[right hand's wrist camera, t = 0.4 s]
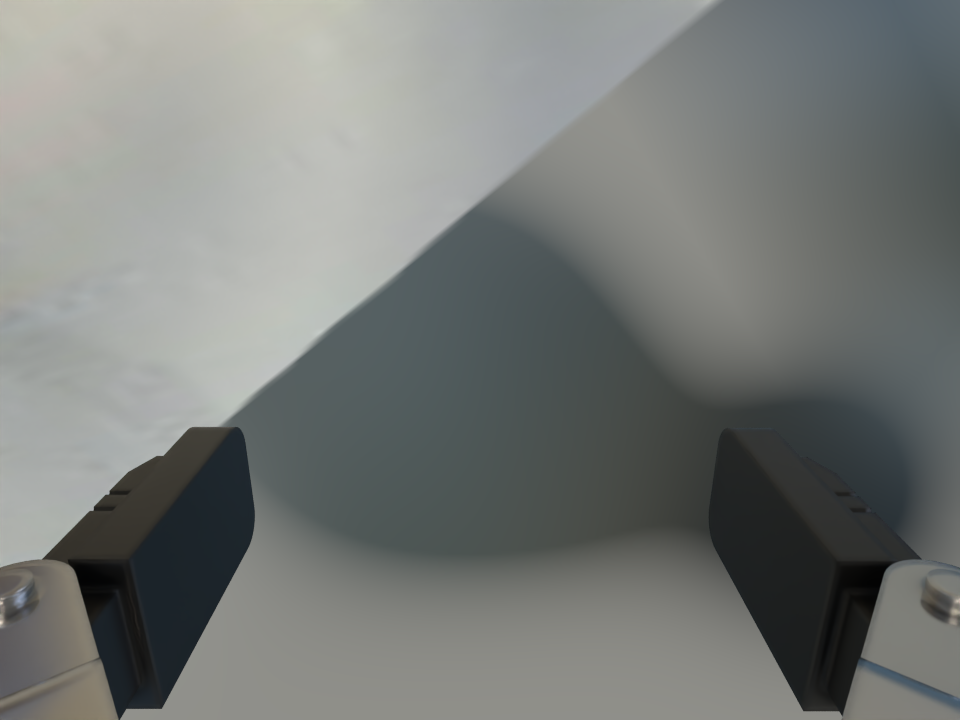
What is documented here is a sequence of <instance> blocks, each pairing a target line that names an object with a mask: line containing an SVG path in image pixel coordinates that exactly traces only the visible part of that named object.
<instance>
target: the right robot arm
mask: <svg viewBox="0 0 960 720" xmlns="http://www.w3.org/2000/svg"><path fill="white" fill-rule="evenodd" d="M254 521H255V510H254V502H253V495H252V487H251V480H250V473H249V466H248V459H247V451H246V444H245V439H244V435H243V433H242V431H241V430H240V429H239V428H238V427H192V428H190V429H188V430H187V431H186V432H185V433H184V435H183V436H182V437H181V438H180V439H179V440H178V441H177V442H176V443H175V444H174V445H173V446H172V447H171V448H170V450H169V451H168V452H167V453H166V454H165V455H164V456H156V457H154V458H153V459H151V460H149V461H147V462H145V463H144V464H142V465H140V466H138V467H137V468H135V469H133V470H131V471H129V472H128V473H127V474H126V475H125V476H124V477H123V478H122V479H121V480H120V481H119V482H118V483H117V484H116V485H115V486H114V487H113V488H112V489H111V490H110V494H109V495H105V496H104V497H103V498H102V499H101V500H100V501H99V502H98V503H97V504H96V505H95V506H94V511H89V512H88V513H87V514H86V515H85V516H84V517H83V518H82V519H81V520H80V521H79V522H78V524H77V525H76V526H75V527H74V528H73V529H72V530H71V531H70V532H69V533H68V534H67V535H66V536H65V537H64V538H63V539H62V540H61V541H60V542H59V543H58V544H57V545H56V546H55V547H54V548H53V549H52V550H51V551H50V552H49V553H48V554H47V555H46V556H45V557H44V558H43V559H42V560H31V561H24V562H19V563H14V564H11V565H7V566H4V567H1V568H0V720H120V718H121V717H122V715H123V713H124V712H125V710H126V709H162V707H163V705H164V704H165V702H166V700H167V698H168V696H169V694H170V692H171V691H172V689H173V687H174V685H175V683H176V681H177V679H178V678H179V676H180V674H181V672H182V670H183V668H184V666H185V665H186V663H187V661H188V659H189V657H190V655H191V653H192V651H193V650H194V648H195V646H196V644H197V642H198V640H199V638H200V637H201V635H202V633H203V631H204V629H205V627H206V625H207V624H208V622H209V620H210V618H211V616H212V614H213V612H214V611H215V609H216V607H217V605H218V603H219V601H220V599H221V597H222V596H223V594H224V592H225V590H226V588H227V586H228V585H229V583H230V581H231V579H232V577H233V575H234V573H235V571H236V570H237V568H238V566H239V564H240V562H241V560H242V558H243V557H244V555H245V553H246V551H247V549H248V547H249V545H250V542H251V539H252V535H253V530H254ZM709 528H710V534H711V539H712V542H713V545H714V547H715V549H716V551H717V553H718V555H719V557H720V559H721V560H722V562H723V564H724V566H725V568H726V570H727V571H728V573H729V575H730V577H731V579H732V581H733V583H734V584H735V586H736V588H737V590H738V592H739V593H740V595H741V597H742V599H743V601H744V603H745V605H746V606H747V608H748V610H749V612H750V614H751V616H752V617H753V619H754V621H755V623H756V625H757V627H758V628H759V630H760V632H761V634H762V636H763V638H764V639H765V641H766V643H767V645H768V647H769V649H770V651H771V652H772V654H773V656H774V658H775V660H776V662H777V663H778V665H779V667H780V669H781V671H782V673H783V674H784V676H785V678H786V680H787V682H788V684H789V685H790V687H791V689H792V691H793V693H794V695H795V696H796V698H797V700H798V702H799V704H800V706H801V708H802V709H803V711H840V713H841V715H842V720H960V568H959V567H956V566H953V565H949V564H946V563H941V562H936V561H929V560H922V559H921V558H920V557H919V556H918V555H917V554H916V553H915V552H914V551H913V550H912V549H911V548H910V547H909V546H908V545H907V544H906V543H905V542H904V541H903V540H902V539H901V538H900V537H899V536H898V535H897V534H896V533H895V532H894V531H893V530H892V529H891V528H890V527H889V526H888V525H887V524H886V523H885V522H884V521H883V520H882V519H881V518H880V517H879V516H878V515H877V514H876V513H872V512H871V508H870V507H869V506H868V505H867V504H866V503H865V502H864V501H863V500H862V499H861V498H860V497H859V496H855V492H854V491H853V490H852V489H851V488H850V487H849V486H848V485H847V484H846V483H845V482H844V481H843V480H842V479H841V478H840V477H839V476H838V475H837V474H836V473H835V472H833V471H831V470H829V469H827V468H826V467H824V466H822V465H820V464H818V463H817V462H815V461H813V460H811V459H809V458H808V457H800V456H799V455H798V454H797V453H796V451H795V450H794V449H793V448H792V447H791V446H790V445H789V444H788V443H787V442H786V441H785V440H784V439H783V438H782V437H781V436H780V434H779V433H778V432H777V431H776V430H774V429H772V428H726V429H724V430H723V432H722V433H721V436H720V439H719V443H718V450H717V457H716V464H715V471H714V478H713V485H712V492H711V499H710V506H709Z"/></svg>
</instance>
